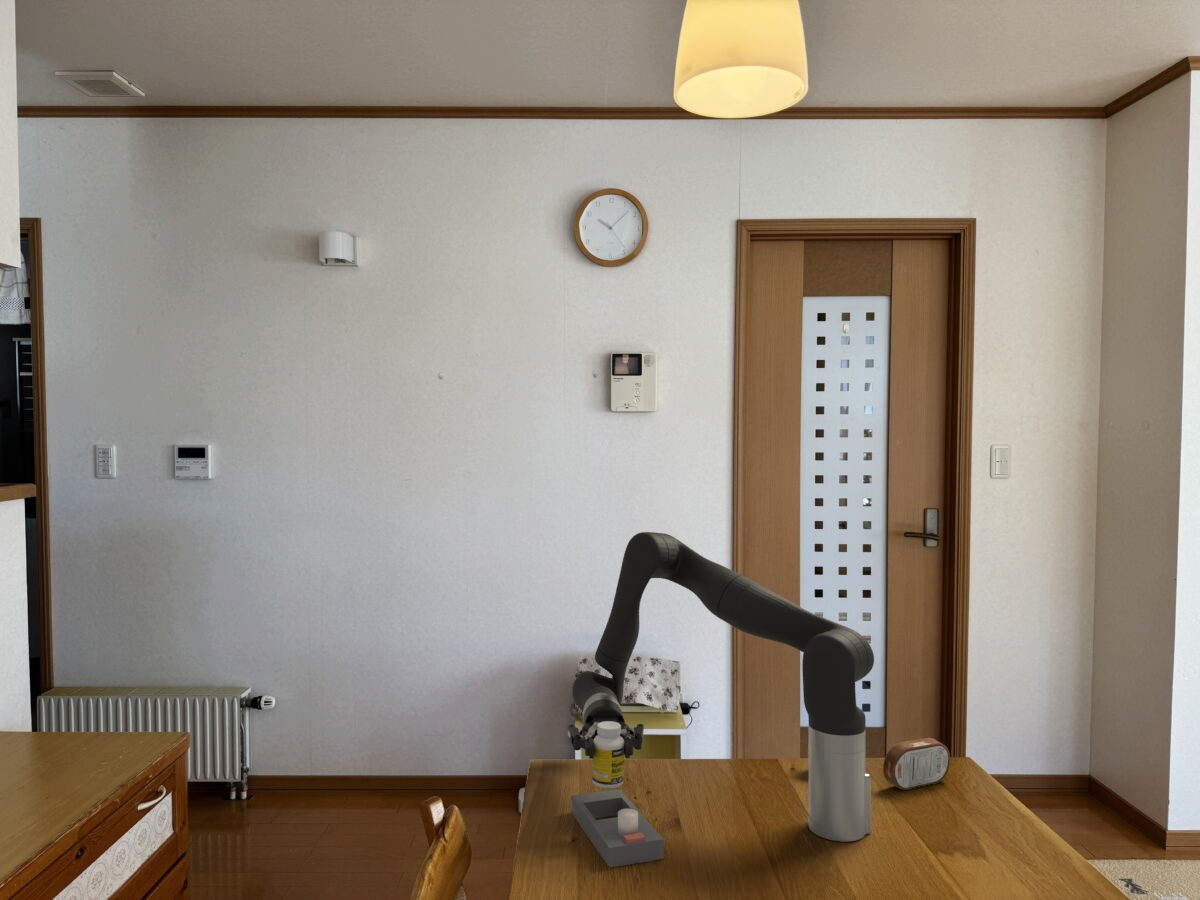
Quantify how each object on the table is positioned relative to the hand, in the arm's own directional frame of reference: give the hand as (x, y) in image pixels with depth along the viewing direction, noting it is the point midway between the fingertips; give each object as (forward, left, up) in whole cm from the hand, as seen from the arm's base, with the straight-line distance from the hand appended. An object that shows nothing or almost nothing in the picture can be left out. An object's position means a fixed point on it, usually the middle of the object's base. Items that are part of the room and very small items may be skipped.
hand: (609, 752), depth 132 cm
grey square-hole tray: (-1, +1, -13) cm, 13 cm away
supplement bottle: (-1, -3, -6) cm, 7 cm away
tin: (-63, 0, -14) cm, 64 cm away
